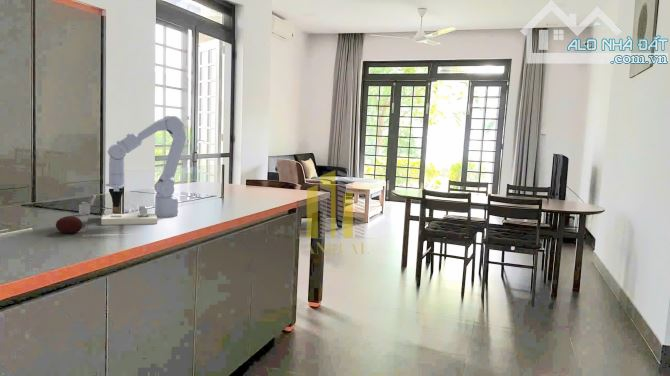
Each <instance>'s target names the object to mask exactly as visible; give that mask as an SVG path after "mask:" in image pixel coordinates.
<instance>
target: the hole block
mask: <svg viewBox="0 0 670 376" xmlns="http://www.w3.org/2000/svg"><path fill="white" fill-rule="evenodd" d="M139 216H140V213H118V214H114V213H105V214H104V213H103V214H101V223H100V224H101V226H108V225H109V226H112V225H113V226H114V225H116V226H117V225H119V226H120V225H122V226H123V225H157V224H158V216H156V214H155V213H147V217H139Z"/></svg>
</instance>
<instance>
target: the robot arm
mask: <svg viewBox="0 0 670 376" xmlns="http://www.w3.org/2000/svg"><path fill="white" fill-rule="evenodd" d="M184 125H185V124H184V123H183V121H182V120H181V119H180V118H179V116H176V115H172V116H171V115H166V116H164V117H163V118H160V119H158V120H156V121H154V122H153V123H152V124H149V126H147V127H146V128H144V129H143V130H141V131H140V132H138V133H133V132H132V133H128V134H126V137H124V138H123V139H121V140H117V141H116V144H112V145H110V146H109V148H108V150H107V154H108V155H109V156H108V157H109V159H108V160H109V162H108V183H106V184H105V187H110V188H109V189H108V192H109V194H110V197H111V201H112V208H113V207H119V205H120V206H121V199H122V196H123V194H124V192H125V188H124V187H125V186H126V185H125V157H126V155H127V154H129V153H130V152H132V151H134V150H136V149H137V148H138V147H140V146H141V145H142V142H143V141H144V140H145V139H147V138H149V137H150V136H152V135H153V134H155V133H157V132H159V131H166V132H168V133H169V135H170V137H171V138H172V141H171V145H170V148H169V152H168V154H167V158H166V161H165V164H164V167H163V171H162V173H161V175H160V176H159V178H158V180H157V181H156V182H155V184H154V186H153V187H154V191H155V192H156V194H155V196H154V200H155V201H154V214H156V216H157V217H163V218H164V217H166V218H167V217H178V214H179V209H178V207H179V202H178V200H179V199H178V197H177V196H174V195H173V194H174V193H175V175H176V172H177V170H178V166H179V163H180V159H181V156H182V153H183V150H184V147H185V144H186V140H187V136H186V132H185V128H184Z"/></svg>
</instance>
